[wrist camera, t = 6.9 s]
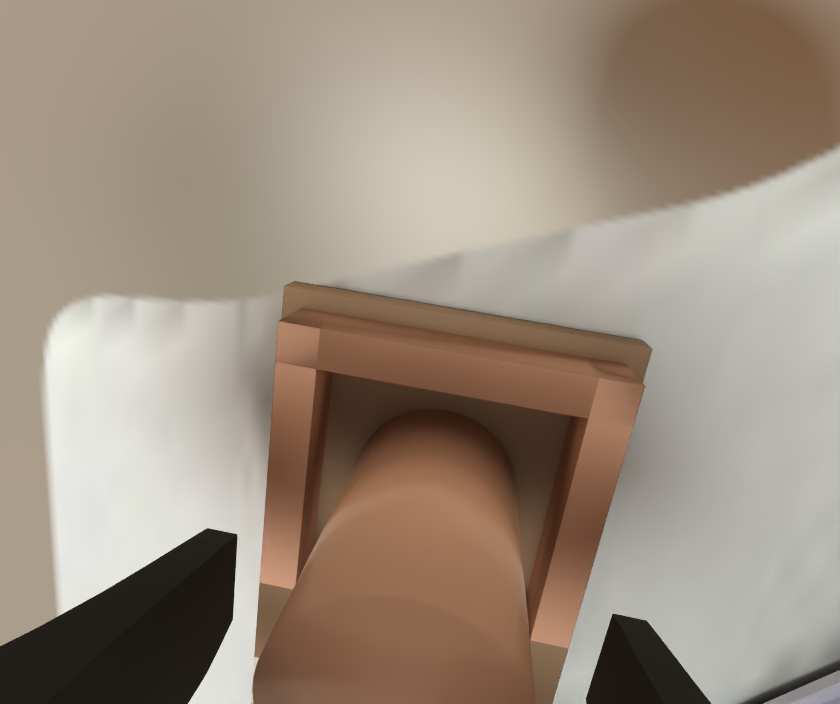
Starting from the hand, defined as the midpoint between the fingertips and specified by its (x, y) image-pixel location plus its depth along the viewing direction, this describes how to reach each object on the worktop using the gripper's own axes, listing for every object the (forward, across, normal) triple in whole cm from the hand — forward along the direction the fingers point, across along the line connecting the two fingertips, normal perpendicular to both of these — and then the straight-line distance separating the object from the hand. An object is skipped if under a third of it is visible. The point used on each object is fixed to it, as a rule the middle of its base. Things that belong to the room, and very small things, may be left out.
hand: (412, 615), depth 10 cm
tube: (+5, 0, 0) cm, 5 cm away
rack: (+6, 0, +4) cm, 7 cm away
